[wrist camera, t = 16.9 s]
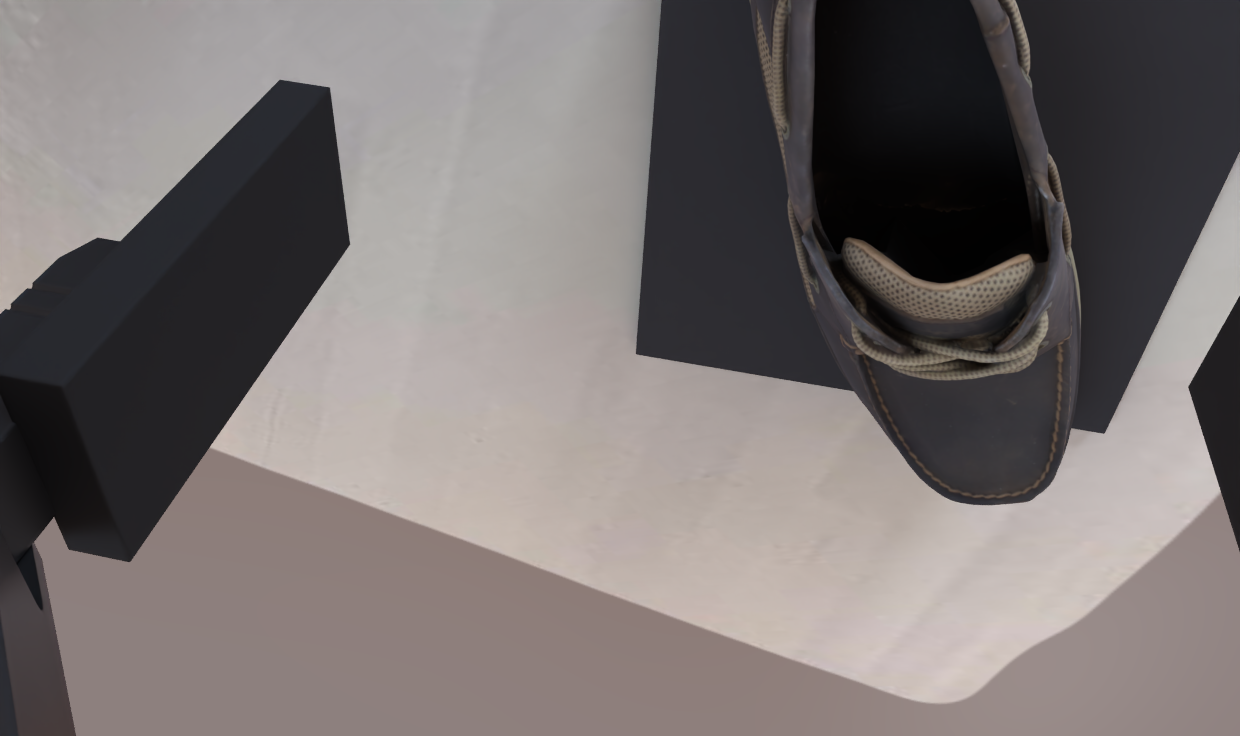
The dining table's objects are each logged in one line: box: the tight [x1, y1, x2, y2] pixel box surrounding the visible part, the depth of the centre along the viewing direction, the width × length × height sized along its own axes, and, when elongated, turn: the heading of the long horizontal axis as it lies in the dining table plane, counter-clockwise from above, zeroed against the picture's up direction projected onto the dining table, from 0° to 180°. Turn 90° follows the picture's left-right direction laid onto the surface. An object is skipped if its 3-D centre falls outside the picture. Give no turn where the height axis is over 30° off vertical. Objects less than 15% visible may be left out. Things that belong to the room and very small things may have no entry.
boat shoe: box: [749, 0, 1081, 505], centre depth 38 cm, size 11×29×11 cm, turn 24°
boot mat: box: [636, 0, 1240, 434], centre depth 43 cm, size 22×24×1 cm
